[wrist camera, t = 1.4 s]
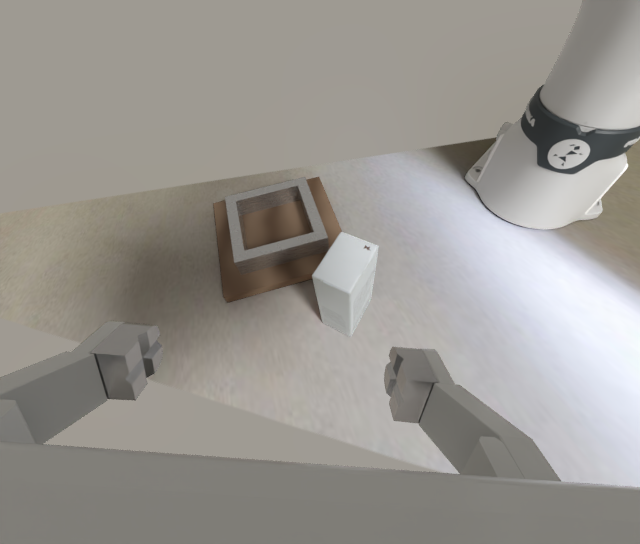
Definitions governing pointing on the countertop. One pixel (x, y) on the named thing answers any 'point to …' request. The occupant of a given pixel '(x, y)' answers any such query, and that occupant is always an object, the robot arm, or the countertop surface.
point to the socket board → (273, 236)
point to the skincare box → (345, 282)
